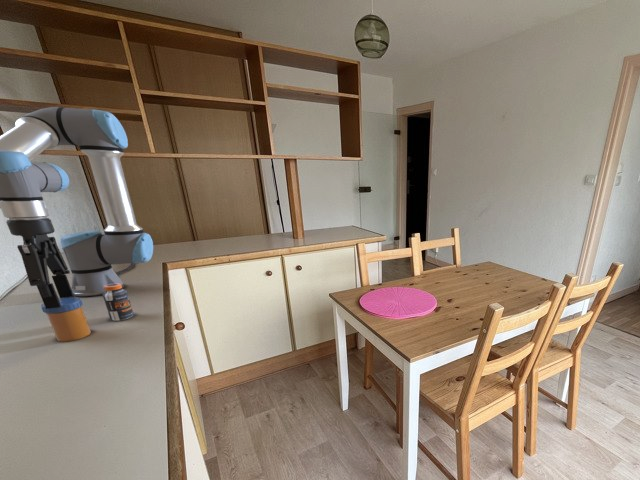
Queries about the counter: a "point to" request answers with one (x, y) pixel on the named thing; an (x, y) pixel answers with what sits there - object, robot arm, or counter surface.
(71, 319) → the jar
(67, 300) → the lid
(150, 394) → the counter surface
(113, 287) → the pill bottle
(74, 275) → the robot arm
